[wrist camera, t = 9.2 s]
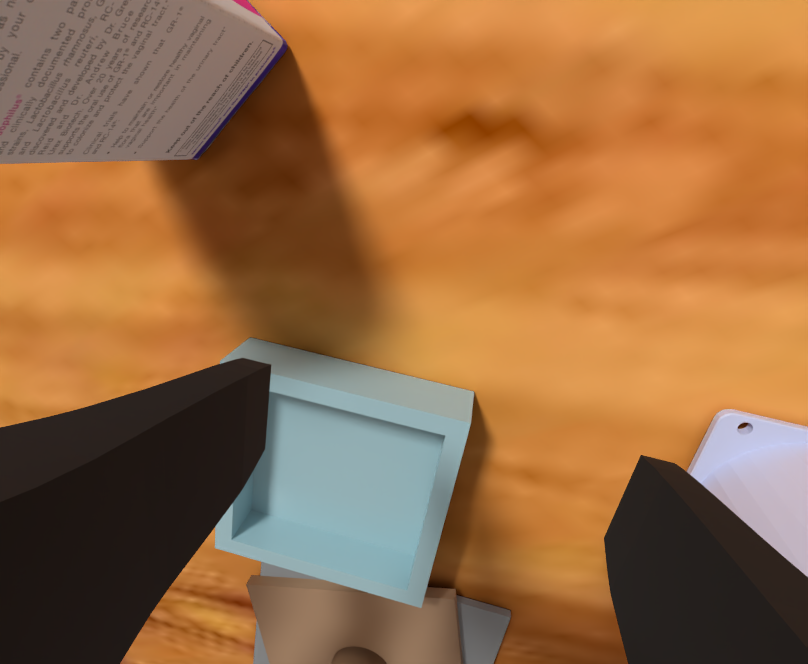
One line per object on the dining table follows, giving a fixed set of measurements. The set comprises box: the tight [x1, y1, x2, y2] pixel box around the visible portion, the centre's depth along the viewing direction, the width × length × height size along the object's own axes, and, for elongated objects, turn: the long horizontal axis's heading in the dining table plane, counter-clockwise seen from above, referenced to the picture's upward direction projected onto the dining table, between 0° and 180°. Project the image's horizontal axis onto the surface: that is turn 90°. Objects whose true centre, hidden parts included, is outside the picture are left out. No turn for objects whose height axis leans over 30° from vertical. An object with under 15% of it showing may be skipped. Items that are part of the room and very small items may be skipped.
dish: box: [215, 337, 474, 608], centre depth 22 cm, size 10×10×2 cm
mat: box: [253, 562, 511, 664], centre depth 28 cm, size 13×13×1 cm
